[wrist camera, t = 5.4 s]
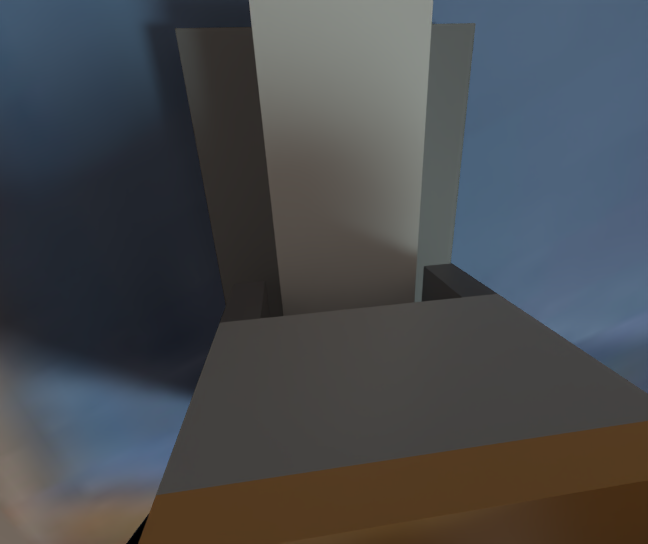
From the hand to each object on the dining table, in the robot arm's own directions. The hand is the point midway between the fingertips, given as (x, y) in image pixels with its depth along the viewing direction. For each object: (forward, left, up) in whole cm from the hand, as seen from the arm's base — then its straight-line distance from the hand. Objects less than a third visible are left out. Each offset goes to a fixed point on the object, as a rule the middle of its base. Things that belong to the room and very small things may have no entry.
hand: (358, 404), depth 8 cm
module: (0, 0, -1) cm, 1 cm away
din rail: (0, 0, -3) cm, 3 cm away
